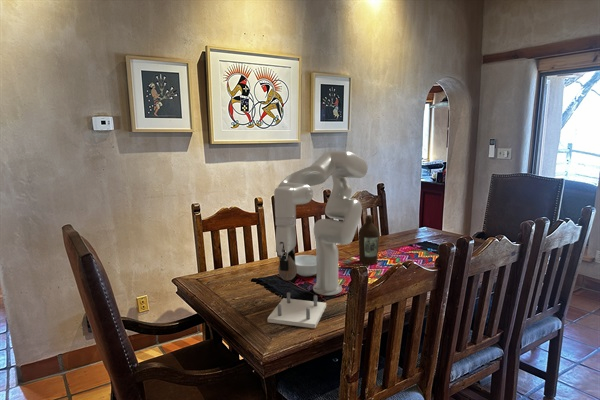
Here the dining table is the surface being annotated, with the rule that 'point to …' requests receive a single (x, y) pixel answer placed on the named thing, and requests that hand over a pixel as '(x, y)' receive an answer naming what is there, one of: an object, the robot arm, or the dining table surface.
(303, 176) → the robot arm
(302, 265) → the cereal bowl
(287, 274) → the vase
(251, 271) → the dining table surface
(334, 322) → the dining table surface
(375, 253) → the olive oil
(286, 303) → the stand
